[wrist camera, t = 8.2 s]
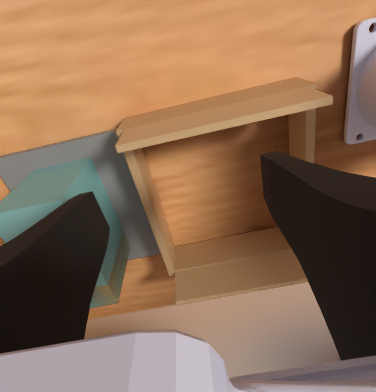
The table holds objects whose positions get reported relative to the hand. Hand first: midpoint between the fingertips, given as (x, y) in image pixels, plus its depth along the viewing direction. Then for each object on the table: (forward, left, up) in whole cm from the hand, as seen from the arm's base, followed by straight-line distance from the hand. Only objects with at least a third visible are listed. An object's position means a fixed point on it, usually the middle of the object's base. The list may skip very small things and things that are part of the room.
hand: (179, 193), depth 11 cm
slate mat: (+9, +5, -9) cm, 14 cm away
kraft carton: (-2, +5, -9) cm, 11 cm away
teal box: (+9, +5, -9) cm, 14 cm away
